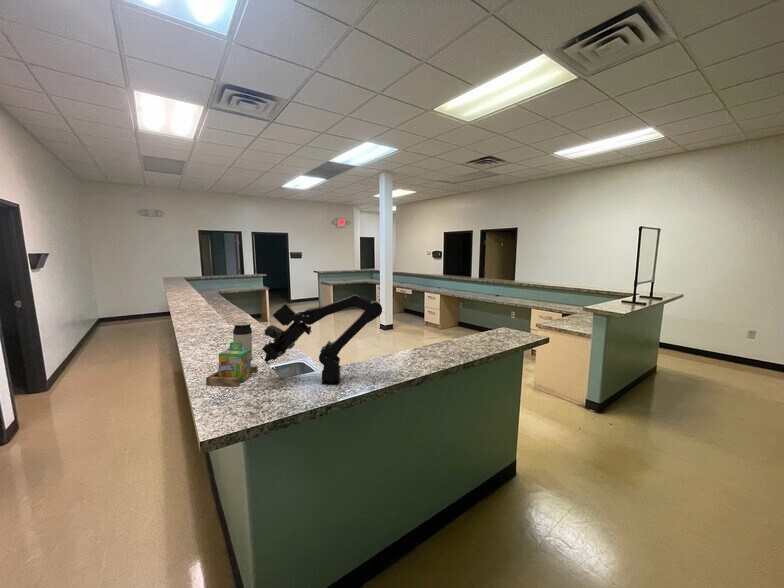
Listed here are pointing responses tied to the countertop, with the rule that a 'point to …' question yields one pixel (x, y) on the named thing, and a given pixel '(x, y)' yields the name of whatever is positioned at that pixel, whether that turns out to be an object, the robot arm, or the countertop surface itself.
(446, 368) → the countertop surface
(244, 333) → the travel mug
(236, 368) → the chalk box
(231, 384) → the block
